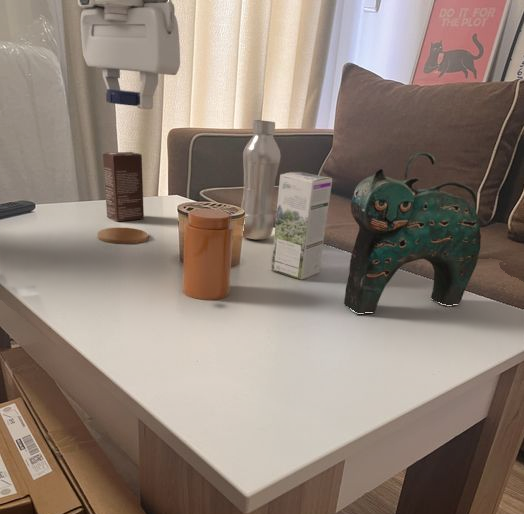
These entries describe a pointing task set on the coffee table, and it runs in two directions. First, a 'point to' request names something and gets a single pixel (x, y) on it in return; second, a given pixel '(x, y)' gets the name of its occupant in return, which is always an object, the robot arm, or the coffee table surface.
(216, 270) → the jar
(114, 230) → the coaster
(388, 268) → the ceramic cat
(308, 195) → the syrup box
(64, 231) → the coffee table surface
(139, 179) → the box
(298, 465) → the coffee table surface
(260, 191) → the metal water bottle
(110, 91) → the jar lid
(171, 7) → the robot arm
